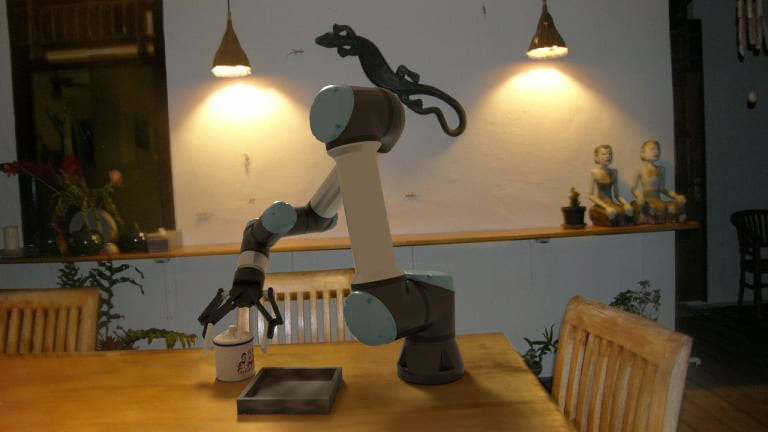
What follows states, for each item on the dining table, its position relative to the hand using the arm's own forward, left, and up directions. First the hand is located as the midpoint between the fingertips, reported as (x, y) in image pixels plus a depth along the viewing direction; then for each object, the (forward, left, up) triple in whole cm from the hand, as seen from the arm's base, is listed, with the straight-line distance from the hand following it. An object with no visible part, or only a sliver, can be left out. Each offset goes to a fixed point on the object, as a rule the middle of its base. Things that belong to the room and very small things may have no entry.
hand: (234, 351), depth 140 cm
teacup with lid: (0, -1, -6) cm, 6 cm away
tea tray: (-19, +8, -6) cm, 21 cm away
